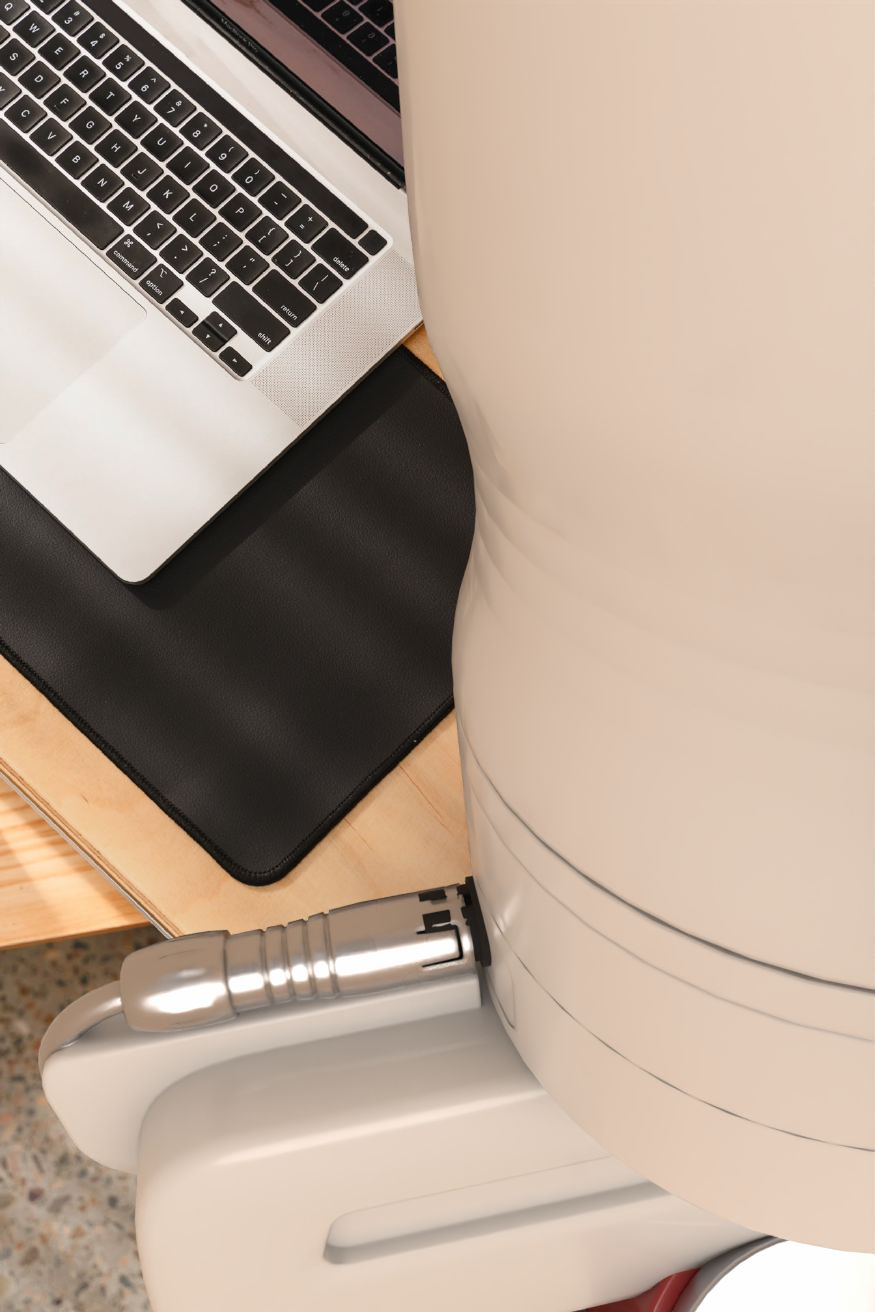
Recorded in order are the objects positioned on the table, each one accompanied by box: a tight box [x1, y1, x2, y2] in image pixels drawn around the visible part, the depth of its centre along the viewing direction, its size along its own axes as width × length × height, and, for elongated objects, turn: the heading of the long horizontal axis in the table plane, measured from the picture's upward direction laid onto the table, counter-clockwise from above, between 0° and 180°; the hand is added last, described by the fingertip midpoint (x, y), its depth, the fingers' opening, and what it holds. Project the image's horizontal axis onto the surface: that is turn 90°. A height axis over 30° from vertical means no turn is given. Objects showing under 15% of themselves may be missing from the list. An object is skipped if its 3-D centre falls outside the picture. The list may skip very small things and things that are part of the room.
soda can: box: [587, 1236, 875, 1312], centre depth 21 cm, size 6×6×13 cm
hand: (714, 1273), depth 21 cm, fingers closed on soda can, 6 cm apart
